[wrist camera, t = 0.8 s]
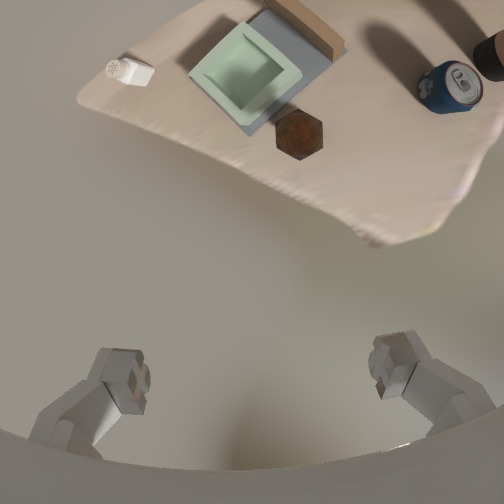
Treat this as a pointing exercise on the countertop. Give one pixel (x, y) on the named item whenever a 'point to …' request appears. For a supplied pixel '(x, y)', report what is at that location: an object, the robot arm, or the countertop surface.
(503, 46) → the travel mug
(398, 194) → the countertop surface
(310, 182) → the countertop surface
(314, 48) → the backstop board
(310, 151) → the bolt
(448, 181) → the countertop surface
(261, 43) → the socket block
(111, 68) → the pepper shaker
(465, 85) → the soda can
